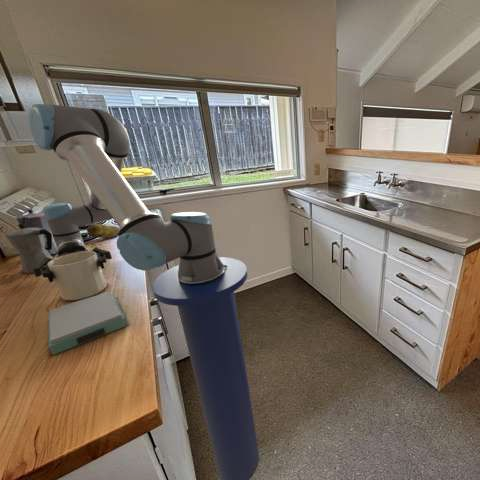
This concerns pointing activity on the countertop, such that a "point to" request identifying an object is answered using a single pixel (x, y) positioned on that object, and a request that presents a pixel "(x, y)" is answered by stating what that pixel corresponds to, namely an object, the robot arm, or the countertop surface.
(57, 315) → the kitchen scale
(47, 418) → the countertop surface
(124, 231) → the robot arm
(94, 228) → the potato
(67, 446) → the countertop surface
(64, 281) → the cream round pot
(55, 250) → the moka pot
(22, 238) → the coffeepot
